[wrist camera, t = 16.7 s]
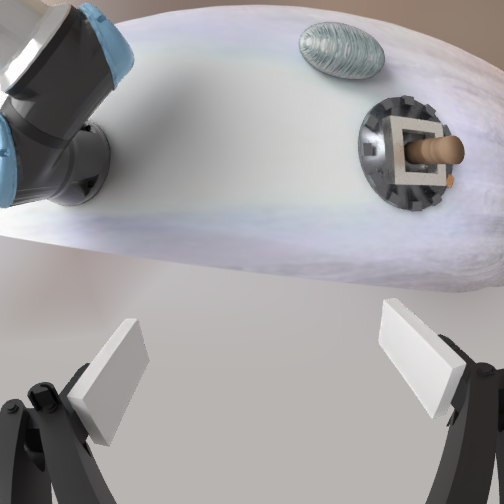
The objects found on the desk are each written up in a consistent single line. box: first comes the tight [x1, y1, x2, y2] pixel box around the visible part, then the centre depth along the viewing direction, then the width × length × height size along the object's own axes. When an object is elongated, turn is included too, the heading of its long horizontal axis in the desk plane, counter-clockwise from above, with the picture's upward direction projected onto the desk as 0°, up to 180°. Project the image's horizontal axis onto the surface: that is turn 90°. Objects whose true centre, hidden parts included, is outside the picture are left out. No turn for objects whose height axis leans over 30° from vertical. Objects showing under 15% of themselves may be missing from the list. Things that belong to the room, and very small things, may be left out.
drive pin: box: [404, 136, 465, 165], centre depth 35 cm, size 4×4×12 cm
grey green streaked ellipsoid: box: [299, 22, 385, 79], centre depth 34 cm, size 14×10×10 cm
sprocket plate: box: [358, 95, 454, 211], centre depth 40 cm, size 20×20×4 cm
